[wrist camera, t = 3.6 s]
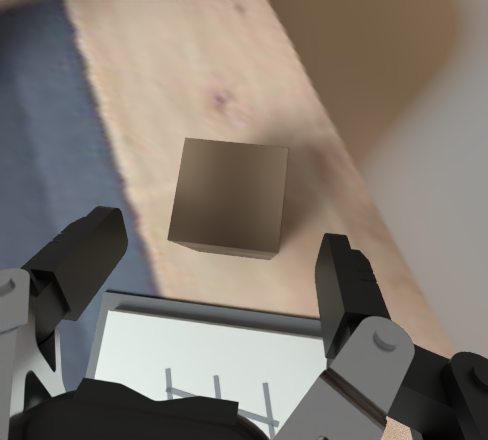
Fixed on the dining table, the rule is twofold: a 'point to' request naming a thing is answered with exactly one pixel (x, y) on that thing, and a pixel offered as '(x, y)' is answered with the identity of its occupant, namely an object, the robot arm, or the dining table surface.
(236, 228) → the block
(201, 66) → the dining table surface
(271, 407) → the board
